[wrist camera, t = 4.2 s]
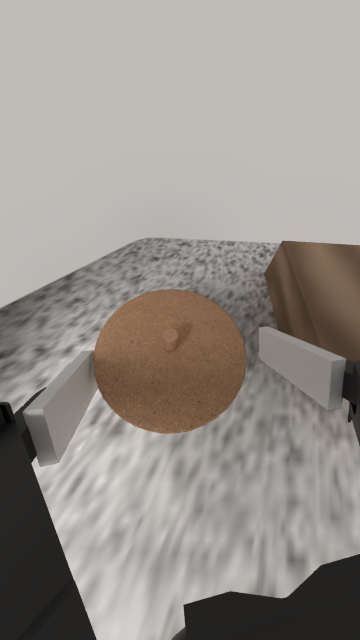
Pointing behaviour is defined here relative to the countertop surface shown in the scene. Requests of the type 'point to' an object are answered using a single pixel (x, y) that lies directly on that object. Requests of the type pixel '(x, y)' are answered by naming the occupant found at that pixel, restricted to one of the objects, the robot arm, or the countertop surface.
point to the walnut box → (318, 295)
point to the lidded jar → (169, 361)
